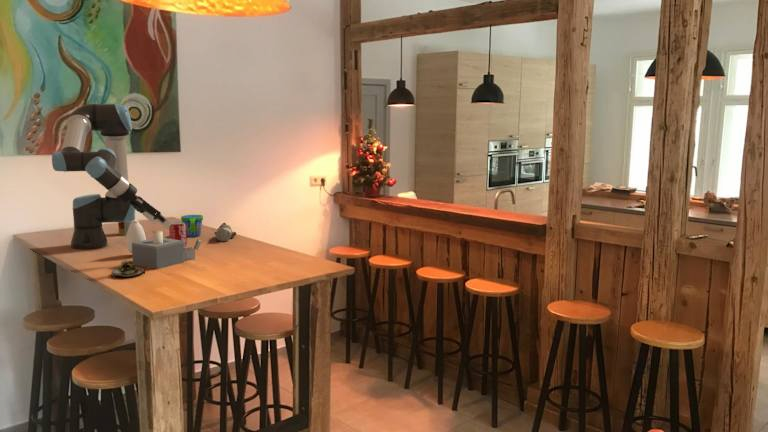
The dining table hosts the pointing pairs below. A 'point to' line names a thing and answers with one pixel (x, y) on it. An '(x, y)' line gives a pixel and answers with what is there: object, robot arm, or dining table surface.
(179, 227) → the soda can
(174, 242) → the gray square-hole box
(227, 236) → the ceramic sculpture
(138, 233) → the sauce bottle
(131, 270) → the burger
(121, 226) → the canned food
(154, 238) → the coin roll
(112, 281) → the dining table surface
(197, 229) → the snack cup
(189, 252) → the lighter
